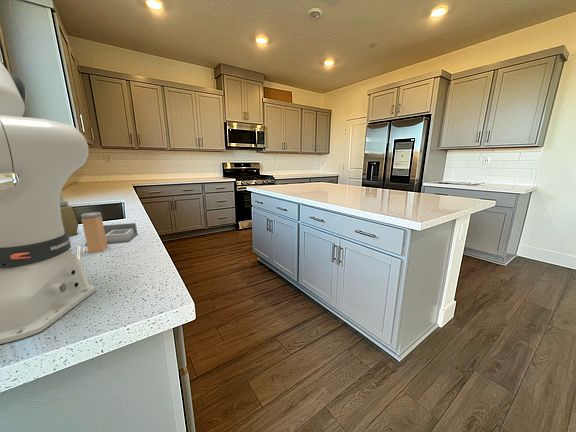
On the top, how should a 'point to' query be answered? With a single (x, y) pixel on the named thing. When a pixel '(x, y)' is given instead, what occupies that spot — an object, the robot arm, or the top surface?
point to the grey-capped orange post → (94, 231)
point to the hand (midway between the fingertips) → (54, 232)
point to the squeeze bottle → (68, 218)
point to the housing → (119, 233)
